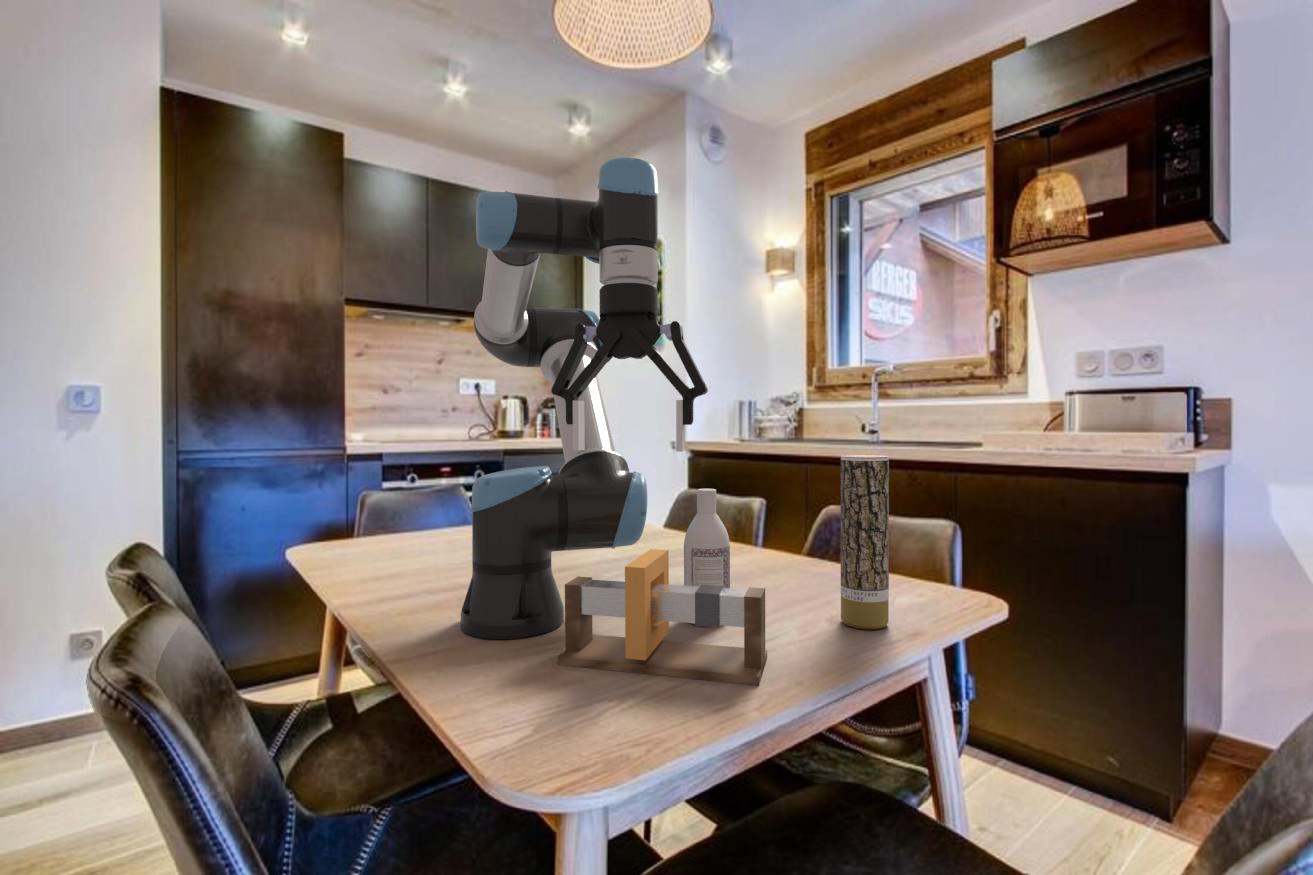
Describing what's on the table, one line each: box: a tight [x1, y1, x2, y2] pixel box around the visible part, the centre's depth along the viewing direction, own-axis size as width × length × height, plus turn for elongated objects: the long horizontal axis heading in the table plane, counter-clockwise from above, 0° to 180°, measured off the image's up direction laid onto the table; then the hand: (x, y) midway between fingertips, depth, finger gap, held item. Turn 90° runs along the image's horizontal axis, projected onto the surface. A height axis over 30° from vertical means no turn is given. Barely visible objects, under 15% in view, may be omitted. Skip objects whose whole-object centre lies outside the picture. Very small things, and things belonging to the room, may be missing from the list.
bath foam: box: [683, 488, 731, 626], centre depth 98 cm, size 7×7×20 cm
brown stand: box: [557, 576, 768, 686], centre depth 81 cm, size 25×9×10 cm, turn 74°
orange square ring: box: [624, 548, 670, 660], centre depth 81 cm, size 2×11×11 cm, turn 164°
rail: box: [580, 579, 748, 628], centre depth 81 cm, size 22×4×4 cm, turn 74°
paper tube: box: [840, 454, 890, 631], centre depth 95 cm, size 7×7×25 cm
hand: (629, 450), depth 83 cm, fingers open, 13 cm apart
